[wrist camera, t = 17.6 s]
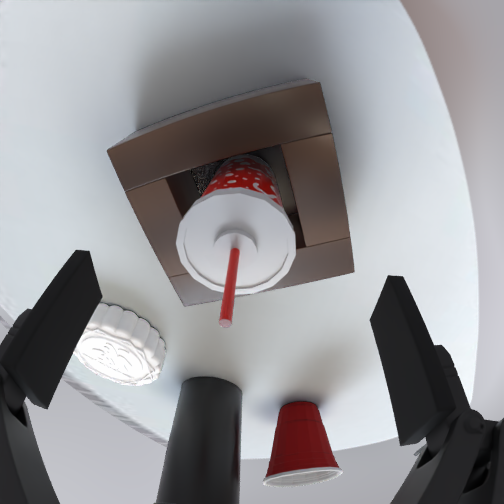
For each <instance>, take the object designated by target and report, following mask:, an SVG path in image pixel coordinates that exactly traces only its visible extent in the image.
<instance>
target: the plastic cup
mask: <svg viewBox="0 0 504 504" xmlns="http://www.w3.org/2000/svg"><path fill="white" fill-rule="evenodd" d="M342 473H343V470H342V469H340V468H339V466H338V464H337V462H336V461H335V458H334V456H333V454H332V450H331V447H330V444H329V440H328V437H327V434H326V431H325V427H324V425H323V423H322V419H321V416H320V412H319V410H318V408H317V406H316V405H315V404H313V403H311V402H293V403H289V404H287V405H284V406H283V407H282V408H281V409H280V412H279V415H278V422H277V427H276V429H275V435H274V441H273V447H272V453H271V459H270V462H269V468H268V470H267V474H266V478H264V480H263V484H264V485H267V486H273V487H294V486H303V485H310V484H315V483H320V482H323V481H327V480H330V479H333V478H336V477H338V476H340V475H341V474H342Z"/></svg>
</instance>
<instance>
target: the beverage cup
mask: <svg viewBox="0 0 504 504" xmlns="http://www.w3.org/2000/svg"><path fill="white" fill-rule="evenodd" d="M176 246H177V250H178V254H179V257H180V261H181V263H182V265H183V266H184V267H185V268H186V270H187V271H188V272H189V273H190V275H191V276H192V277H193V278H194V279H195V280H197V281H198V282H200V283H202V284H203V285H205V286H206V287H208V288H210V289H211V290H215V291H219V292H223V293H224V294H223V300H222V306H221V313H220V319H219V324H220V326H222V327H230V326H231V323H232V315H233V306H234V297H235V295H238V294H254V293H257V292H259V291H262V290H264V289H267V288H269V287H272V286H274V285H275V284H276V283H277V282H278V281H279V280H280V279H282V278H283V277H284V276H285V275H286V274H287V273H288V271H289V269H290V267H291V265H292V263H293V260H294V258H295V256H296V244H295V232H294V230H293V225H292V224H291V222H290V220H289V218H288V216H287V214H286V212H285V211H284V208H283V204H282V200H281V196H280V193H279V189H278V185H277V181H276V178H275V175H274V173H273V171H272V169H271V167H270V166H269V165H268V164H267V163H266V162H265V161H263V160H262V159H261V158H259V157H256V156H252V155H249V154H245V155H237V156H233V157H231V158H230V159H228V160H226V161H224V163H223V164H222V165H221V166H220V168H219V169H218V170H217V172H216V173H215V175H214V176H213V178H212V180H211V181H210V183H209V184H208V186H207V188H206V189H205V191H204V193H203V194H202V196H201V198H200V199H198V200H196V201H195V202H194V204H193V205H192V206H191V208H190V209H189V210H188V212H187V213H186V214H185V216H184V217H183V219H182V220H181V222H180V224H179V229H178V235H177V240H176Z"/></svg>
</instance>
